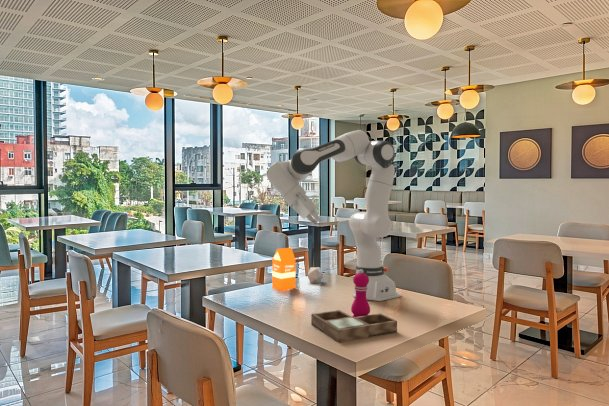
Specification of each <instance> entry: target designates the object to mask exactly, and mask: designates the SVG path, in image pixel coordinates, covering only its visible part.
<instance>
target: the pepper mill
mask: <svg viewBox="0 0 609 406" xmlns="http://www.w3.org/2000/svg"><path fill="white" fill-rule="evenodd" d="M363 272H364V271H363V270H362V269H360V270H359V273H358V274H356V273H355V275H354V276H353V279H352V280H353V284H354V290H355V291H356V296H355V297H354V300H353V302H352V304H351V308H350V311H351V313H352V314H353V315H352V317H359V316H366V315H370V312H371V307H370V304H369V300H367V298H366V290H368V289H367V284H368V283H369V278H368V276H367V275H366V274H364V273H363Z"/></svg>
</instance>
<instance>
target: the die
mask: <svg viewBox="0 0 609 406" xmlns="http://www.w3.org/2000/svg"><path fill="white" fill-rule="evenodd" d="M323 276H324V273H323V271H322V268H321V267H317V266H316V267H314V266H313V267H311V266H310V268H309V270H308V273H307V278H308V280H309V282H310V283H311V284H321V283H322V279H323Z"/></svg>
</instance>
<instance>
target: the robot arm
mask: <svg viewBox="0 0 609 406" xmlns="http://www.w3.org/2000/svg"><path fill="white" fill-rule="evenodd" d="M353 158H354V160H355V162H356V163H358V164H359V165H362V166H370V167H371V172H370V173H371V174H370V175H369V179H368V183H367V186H366V190H365V194H364V199H365V202H366V206H367V207H366V211H357V212H355V213H353V214H352V215H351V216H349V219H348V226H349V228H350V230H351V232H352V233H353V237H354V241H355V245H356V246H355V247H356V266H355V275H356V274H358V273H359V270H360V269H362V270H363V271H364V272H363V273H364V274H366V275H367V276H368V278H369V283H368V284H367V289H368V290H366V298H367V301H376V302H382V301H386V300H387V301H388V300H391V299H396V298H401V297H402V293H400V292H399V291H397V287H396V283H395V281H393V280H392V279H391V278H390V277H389V276H387V274H385V273H387V272H389V267H386V266H382V248H381V247H380V245H379V243H378V242H377V239H378V238H380V239H381V238H384V237H385V238H386V237H388V236H389V235H390V234H391V232H392V229H393V223H392V220H391V219H390V217H389V201H390V197H391V193H392V189H393V184H394V179H395V173H396V171H395V169H396V168H395V165H394V164H393V163H394V160H395V148H394V145H393V144H392V143H391V142H389V141H387V140H371V141H370V138H369V136H368V134H367V133H366V132H365V131H364V130H362V129H357V130H352V131H349V132H345V133H343V134H341V135H339V136H337V137H335V138H334V139H332V140H330V141H329V142H326V143H324V144H323V143H322V144H320V145H318V146H315V147H312V148H311V147H310V148H309V147H308V148H307V147H306V148H305V147H303V148H299V149H297V150H296V151H294V153H293V155H292V157H291V159H289V160H287V161H280V160H276V161H275V162H273V163H272V164H271V165H270V166H269V168H268V169H267V171H266V174H265V175H266V177H267V179H268V181H269V182H270V184H271V185H272V186H273V187H274V189H275V190H276V191H277V192H278V193H279V194H280V195H281V197H282V198H283V200H284V201H285V203H286V204H287V206H288V207H290V208H292V209H293V210H294V211H295V212H296V214H298V216H299V217H300V218H302V219H303V220H305V219H306V220H308V221H309V222H310V223H311V224H312V225H313V226H314V225H316V224H317V223H318V222H320V221H321V217H320V216H319V214H318V213H317V211H316V209H317V206H316V205H315V202H314V201H312V199H311V198H310V197H309V196H308V195H307V194H306V193H307V191H306V190H305V189H304V188H303V187H302V185H301V184H300V183H301V182H304V181H305V180H306V179H307V177H309V176H310V174H311V173H312V172H313V171H314V170H315V169H316V168H317V167H318V165H319V164H320V163H322V162H324V161H327V160H329V159H332V160H334V161H335V162H338V163H342V162H346V161H349V160H351V159H353ZM352 296H353V297H354V298H355V296H356V291H355V289H354V291H353V294H352Z"/></svg>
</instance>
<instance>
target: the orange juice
mask: <svg viewBox="0 0 609 406" xmlns="http://www.w3.org/2000/svg"><path fill="white" fill-rule="evenodd" d="M271 262H272V265H271V266H272V273H271V274H272V276H271V277H272V279H271V280H272V281H271V282H272V283H271V285H272V289H274V290H276V289H277V291H279V290H280V291H279V292H283V290H284V291H289V290H288V289H290V290H294V289H293V288H295V289H296V275H297V274H296V273H297V272H296V258H295V254H294V252H293V249H292V247H284V248H277V249H276V251H275V254H274V255H273V258H272V261H271Z"/></svg>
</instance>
